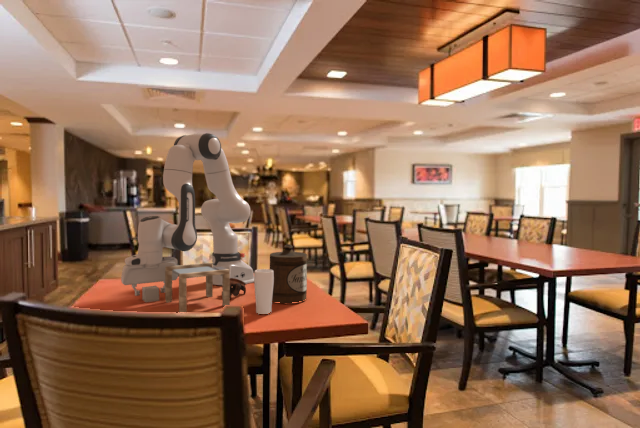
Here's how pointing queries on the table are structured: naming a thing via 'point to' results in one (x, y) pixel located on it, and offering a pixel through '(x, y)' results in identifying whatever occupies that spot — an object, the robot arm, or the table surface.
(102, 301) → the table surface
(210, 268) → the trapdoor
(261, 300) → the tall white cup
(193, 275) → the frame
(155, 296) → the block
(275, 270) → the wooden container
